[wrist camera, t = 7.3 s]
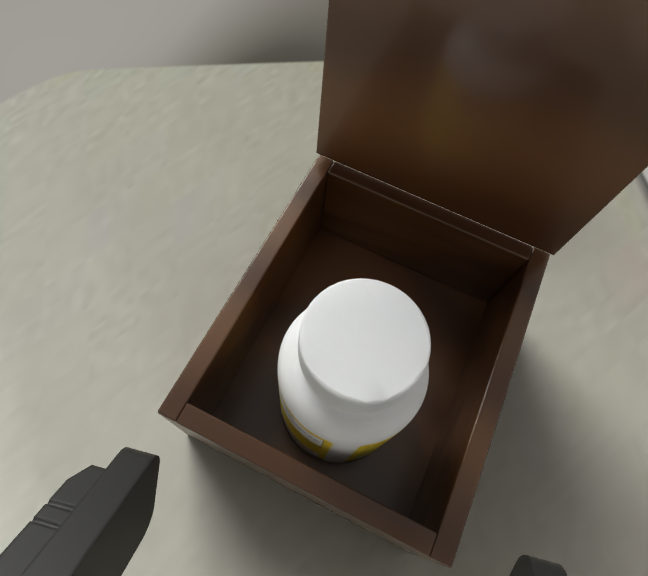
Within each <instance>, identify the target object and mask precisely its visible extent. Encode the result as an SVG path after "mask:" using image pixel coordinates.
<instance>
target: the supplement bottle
mask: <svg viewBox="0 0 648 576" xmlns="http://www.w3.org/2000/svg"><path fill="white" fill-rule="evenodd" d="M430 353H431V339H430V332H429V328H428V325H427V322H426V320H425V318H424V316H423V314H422V312H421V311H420V309H419V308H418V306H417V305H416V304H415V303H414V302H413V301H412V300H411V299H410V298H409V297H408V296H407V295H406V294H405V293H403V292H402V291H401V290H399V289H397V288H396V287H394V286H392V285H390V284H387V283H384V282H382V281H378V280H373V279H363V278H359V279H349V280H345V281H341V282H338V283H336V284H334V285H332V286H330V287H328V288H327V289H325V290H323V291H322V292H321V293H320V294H319V295H318V296H316V297H315V298H314V300H313V301H312V302H311V303H310V305H309V306H308V308H307V309H306V310H305V311H303V312H302V313H301V314H300V315H299V316H298V317H297V318H296V319H295V320H294V321H293V323H292V324H291V326H290V327H289V329H288V330H287V332H286V334H285V336H284V338H283V341H282V344H281V347H280V351H279V357H278V384H279V395H280V405H281V413H282V418H283V422H284V424H285V427H286V429H287V431H288V433H289V434H290V436H291V437H292V439H293V440H294V441H295V443H296V444H297V445H298V446H299V447H300V448H301V449H302V450H304V451H305V452H306V453H308V454H309V455H311V456H313V457H315V458H317V459H320V460H323V461H327V462H332V463H345V462H352V461H355V460H358V459H360V458H363V457H365V456H367V455H369V454H370V453H372V452H373V451H375V450H376V449H377V448H378V447H380V446H381V445H383V444H384V443H385V442H387V441H388V440H389V439H391V438H392V437H393V436H395V435H396V434H397V433H399V432H400V431H401V430H402V429H403V428H404V427H405V426H406V425H408V423H409V422H410V421H411V420H412V419H413V417H414V416H415V415H416V413H417V412H418V410H419V408H420V407H421V405H422V403H423V400H424V398H425V395H426V391H427V387H428V381H429V365H428V362H429V358H430Z"/></svg>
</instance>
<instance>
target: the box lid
mask: <svg viewBox="0 0 648 576" xmlns="http://www.w3.org/2000/svg"><path fill="white" fill-rule="evenodd" d="M317 153H318V154H320V155H322V156H325V157H327V158H329V159H332V160H334V161H336V162H339V163H341V164H343V165H346V166H348V167H350V168H353V169H355V170H357V171H360V172H362V173H364V174H367V175H369V176H371V177H373V178H376V179H378V180H380V181H383V182H385V183H387V184H390V185H392V186H394V187H397V188H399V189H401V190H404V191H406V192H408V193H411V194H413V195H415V196H418V197H420V198H422V199H424V200H427V201H429V202H431V203H434V204H436V205H438V206H441V207H443V208H445V209H448V210H450V211H452V212H455V213H457V214H459V215H462V216H464V217H466V218H469V219H471V220H473V221H475V222H478V223H480V224H482V225H485V226H487V227H489V228H492V229H494V230H496V231H499V232H501V233H503V234H506V235H508V236H510V237H513V238H515V239H517V240H520V241H522V242H524V243H526V244H529V245H531V246H533V247H536V248H538V249H540V250H543V251H545V252H547V253H550V254H552V255H554V254H555V253H557V252H558V251H559V250H560V249H561V248H562V247H563V246H564V245H565V244H566V243H567V242H568V241H569V240H570V239H571V238H572V237H573V236H574V235H576V234H577V233H578V232H579V231H580V230H581V229H582V228H583V227H584V226H585V225H586V224H587V223H588V222H589V221H590V220H591V219H592V218H594V217H595V216H596V215H597V214H598V213H599V212H600V211H601V210H602V209H603V208H604V207H605V206H606V205H607V204H608V203H609V202H610V201H611V200H613V199H614V198H615V197H616V196H617V195H618V194H619V193H620V192H621V191H622V190H623V189H624V188H625V187H626V186H627V185H628V184H629V183H631V182H632V181H633V180H634V179H635V178H636V177H637V176H638V175H639V174H640V173H641V172H642V171H643V170H644V169H645V168H646V167H647V166H648V0H329V8H328V21H327V32H326V45H325V58H324V69H323V81H322V93H321V105H320V117H319V129H318V141H317Z"/></svg>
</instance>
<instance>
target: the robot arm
mask: <svg viewBox="0 0 648 576" xmlns="http://www.w3.org/2000/svg"><path fill="white" fill-rule="evenodd" d="M159 464H160V458H159V456H157V455H153V454H150V453H146V452H142V451H139V450H135V449H132V448H128V447H125V448H123V449H122V450H121V451H120V452H119V453H118V455H117V456H116V457H115V458H114V460H113V461H112V462H111V463H110V464H109V466H108V467H107V468H106V469H105V468H101V467H97V466H94V465H91V466H89V467H88V468H86V469H84V470H82V471H81V472H79V473H77V474H76V475H74V476H72V477H71V478H69V479H67V480H66V482H65V483H64V484H63V485H62V486H61V487H60V488H59V489H58V491H57V492H56V493H55V494H54V495H53V496H52V497H51V498H50V500H49V502H48V504H45V505H44V506H43V507H42V509H41V510H40V511H39V512H38V513H37V514H36V515H35V516H34V519H33V521H32V522H31V521H30V522H29V523H28V524H27V525H26V527H25V528H24V529H23V530H22V531H21V532H20V533H19V534H18V536H17V537H16V538H15V539H14V540H13V541H12V542H11V543H10V545H9V546H8V547H7V548H6V549H5V550H4V551H3V552H2V554H1V555H0V576H121V575H122V573H123V572H124V570H125V568H126V566H127V565H128V563H129V561H130V560H131V558H132V556H133V554H134V553H135V551H136V549H137V548H138V546H139V544H140V542H141V541H142V539H143V537H144V535H145V533H146V531H147V528H148V526H149V523H150V520H151V517H152V514H153V510H154V503H155V495H156V487H157V480H158V472H159ZM510 576H567V574H566V572H565V570H564V568H563V567H562V566H561V565H559V564H556V563H553V562H549V561H545V560H542V559H538V558H535V557H531V556H527V555H522V556H520V557H519V558H518V560H517V562H516V564H515V566H514V568H513V570H512V572H511V574H510Z"/></svg>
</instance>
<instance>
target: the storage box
mask: <svg viewBox="0 0 648 576" xmlns="http://www.w3.org/2000/svg"><path fill="white" fill-rule="evenodd" d="M549 256H550V254H549V253H546V252H544V251H542V250H539V249H537V248H533V249H532V246H530V245H527V244H525V243H523V242H520V241H518V240H516V239H513V238H511V237H509V236H506V235H504V234H502V233H500V232H497V231H495V230H493V229H490V228H488V227H486V226H483V225H481V224H479V223H476V222H474V221H472V220H469V219H467V218H465V217H462V216H460V215H458V214H456V213H453V212H451V211H449V210H446V209H444V208H442V207H439V206H437V205H435V204H432V203H430V202H428V201H425V200H423V199H421V198H418V197H416V196H414V195H411V194H409V193H407V192H405V191H402V190H400V189H398V188H395V187H393V186H391V185H388V184H386V183H384V182H381V181H379V180H377V179H374V178H372V177H370V176H367V175H365V174H363V173H361V172H358V171H356V170H354V169H351V168H349V167H347V166H344V165H342V164H340V163H337V162H334V163H333V160H331V159H328V158H326V157H324V156H321V155H319V156H318V158H317V159H316V161H315V162H314V164H313V165H312V167H311V169H310V170H309V172H308V173H307V175H306V177H305V178H304V180H303V181H302V183H301V184H300V186H299V188H298V189H297V191H296V192H295V194H294V196H293V197H292V199H291V200H290V202H289V204H288V205H287V207H286V208H285V210H284V211H283V213H282V215H281V216H280V218H279V219H278V221H277V223H276V224H275V226H274V227H273V229H272V231H271V232H270V234H269V235H268V237H267V238H266V240H265V242H264V243H263V245H262V246H261V248H260V250H259V251H258V253H257V254H256V256H255V258H254V259H253V261H252V262H251V264H250V265H249V267H248V269H247V270H246V272H245V273H244V275H243V277H242V278H241V280H240V281H239V283H238V285H237V286H236V288H235V289H234V291H233V292H232V294H231V296H230V297H229V299H228V300H227V302H226V304H225V305H224V307H223V308H222V310H221V311H220V313H219V315H218V316H217V318H216V319H215V321H214V323H213V324H212V326H211V327H210V329H209V331H208V332H207V334H206V335H205V337H204V338H203V340H202V342H201V343H200V345H199V346H198V348H197V350H196V351H195V353H194V354H193V356H192V358H191V359H190V361H189V362H188V364H187V365H186V367H185V369H184V370H183V372H182V373H181V375H180V377H179V378H178V380H177V381H176V383H175V385H174V386H173V388H172V389H171V391H170V392H169V394H168V396H167V397H166V399H165V400H164V402H163V404H162V405H161V407H160V408H159V410H158V413H159V414H160V415H162V416H163V417H164V418H166V419H167V420H168V421H170V422H171V423H173V424H174V425H175V426H177V427H178V428H179V429H181V430H182V431H184V432H185V433H186V434H188V435H190V436H191V437H193V438H195V439H197V440H199V441H201V442H203V443H205V444H206V445H208V446H210V447H212V448H214V449H216V450H218V451H220V452H221V453H223V454H225V455H227V456H229V457H231V458H233V459H235V460H236V461H238V462H240V463H242V464H244V465H246V466H248V467H250V468H252V469H253V470H255V471H257V472H259V473H261V474H263V475H265V476H267V477H268V478H270V479H272V480H274V481H276V482H278V483H280V484H282V485H283V486H285V487H287V488H289V489H291V490H293V491H295V492H297V493H298V494H300V495H302V496H304V497H306V498H308V499H310V500H312V501H314V502H315V503H317V504H319V505H321V506H323V507H325V508H327V509H329V510H330V511H332V512H334V513H336V514H338V515H340V516H342V517H344V518H345V519H347V520H349V521H351V522H353V523H355V524H357V525H359V526H360V527H362V528H364V529H366V530H368V531H370V532H372V533H374V534H376V535H377V536H379V537H381V538H383V539H385V540H387V541H389V542H391V543H392V544H394V545H396V546H398V547H400V548H402V549H404V550H406V551H407V552H409V553H412V554H414V555H417V556H420V557H422V558H425V559H428V560H430V561H433V562H436V563H438V564H441V565H444V566H446V567H449V568H451V567H452V565H453V561H454V558H455V555H456V552H457V549H458V546H459V542H460V539H461V536H462V533H463V530H464V526H465V523H466V520H467V517H468V514H469V511H470V507H471V504H472V501H473V498H474V495H475V491H476V488H477V485H478V482H479V479H480V476H481V472H482V469H483V466H484V463H485V460H486V456H487V453H488V450H489V447H490V444H491V441H492V437H493V434H494V431H495V428H496V425H497V421H498V418H499V415H500V412H501V409H502V406H503V402H504V399H505V396H506V393H507V390H508V386H509V383H510V380H511V377H512V374H513V371H514V367H515V364H516V361H517V358H518V355H519V351H520V348H521V345H522V342H523V339H524V335H525V332H526V329H527V326H528V323H529V320H530V316H531V313H532V310H533V307H534V304H535V300H536V297H537V294H538V291H539V288H540V285H541V281H542V278H543V275H544V272H545V269H546V265H547V262H548V259H549ZM359 278H363V279H373V280H378V281H382V282H384V283H387V284H390V285H392V286H394V287H396V288H397V289H399V290H401V291H402V292H403V293H405V294H406V295H407V296H408V297H409V298H410V299H411V300H412V301H413V302H414V303H415V304H416V305H417V306H418V308H419V309H420V311H421V312H422V314H423V316H424V318H425V320H426V322H427V325H428V328H429V332H430V339H431V353H430V358H429V362H428V365H429V381H428V387H427V391H426V395H425V398H424V400H423V403H422V405H421V407H420V408H419V410H418V412H417V413H416V415H415V416H414V417H413V419H412V420H411V421H410V422H409V423H408V425H406V426H405V427H404V428H403V429H402V430H401V431H400V432H399V433H397V434H396V435H395V436H393V437H392V438H391V439H389V440H388V441H387V442H385V443H384V444H383V445H381V446H380V447H378V448H377V449H376V450H375V451H373V452H372V453H370V454H369V455H367V456H365V457H363V458H360V459H358V460H355V461H352V462H345V463H332V462H327V461H323V460H320V459H317V458H315V457H313V456H311V455H309V454H308V453H306V452H305V451H304V450H302V449H301V448H300V447H299V446H298V445H297V444H296V443H295V441H294V440H293V439H292V437H291V436H290V434H289V433H288V431H287V429H286V427H285V424H284V422H283V418H282V413H281V405H280V395H279V384H278V357H279V351H280V347H281V344H282V341H283V338H284V336H285V334H286V332H287V330H288V329H289V327H290V326H291V324H292V323H293V321H294V320H295V319H296V318H297V317H298V316H299V315H300V314H301V313H302V312H303V311H305V310H306V309H307V308H308V306H309V305H310V303H311V302H312V301H313V300H314V298H315V297H316V296H318V295H319V294H320V293H321V292H322V291H323V290H325V289H327V288H328V287H330V286H332V285H334V284H336V283H338V282H341V281H345V280H349V279H359Z"/></svg>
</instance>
